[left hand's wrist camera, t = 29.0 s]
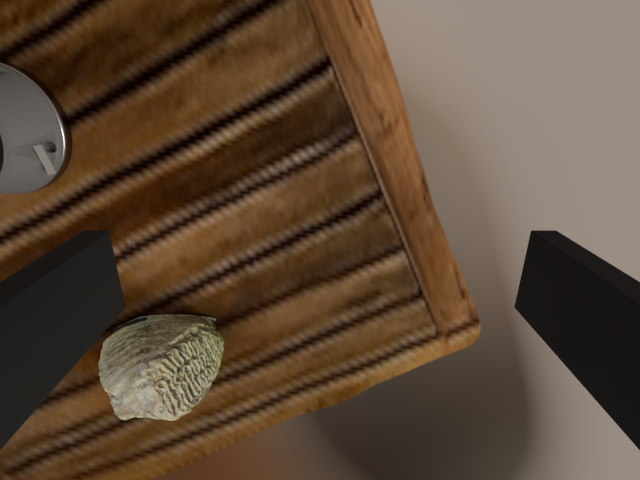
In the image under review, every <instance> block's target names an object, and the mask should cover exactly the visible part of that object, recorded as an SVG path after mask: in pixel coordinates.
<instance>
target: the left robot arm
mask: <svg viewBox="0 0 640 480" xmlns="http://www.w3.org/2000/svg"><path fill="white" fill-rule="evenodd" d="M71 151H72V137H71V131H70V127H69V123H68V120H67V118H66V115H65V113H64V111H63V109H62V107H61V106H60V104H59V102H58V101H57V99H56V98H55V97H54V95H53V94H52V93H51V92H50V91H49V89H48V88H47V87H46V86H45V85H44V84H43V83H41V82H40V81H39V80H38V79H37V78H35V77H34V76H33V75H31V74H30V73H28V72H27V71H25V70H23V69H21V68H19V67H17V66H15V65H12V64H9V63H6V62H2V61H0V193H4V194H20V193H28V192H32V191H35V190H38V189H41V188H43V187H46V186H48V185H50V184H52V183H53V182H54V181H56V180H57V179H58V178H59V177H60V176H61V175H62V174H63V172H64V171H65V169H66V167H67V165H68V163H69V160H70V156H71ZM124 308H125V303H124V299H123V294H122V289H121V285H120V280H119V276H118V271H117V266H116V262H115V257H114V253H113V248H112V243H111V239H110V234H109V231H83V232H81V233H79V234H78V235H76V236H75V237H73V238H71V239H70V240H68V241H66V242H65V243H63V244H62V245H60V246H58V247H57V248H55V249H54V250H52V251H50V252H49V253H47V254H45V255H44V256H42V257H41V258H39V259H37V260H36V261H34V262H32V263H31V264H29V265H28V266H26V267H24V268H23V269H21V270H19V271H18V272H16V273H15V274H13V275H11V276H10V277H8V278H6V279H5V280H3V281H2V282H0V450H1V449H2V447H3V446H4V445H5V444H6V443H7V442H8V441H9V439H10V438H11V437H12V436H13V435H14V434H15V433H16V431H17V430H18V429H19V428H20V427H21V426H22V425H23V423H24V422H25V421H26V420H27V419H28V418H29V417H30V416H31V414H32V413H33V412H34V411H35V410H36V409H37V408H38V406H39V405H40V404H41V403H42V402H43V401H44V400H45V398H46V397H47V396H48V395H49V394H50V393H51V392H52V390H53V389H54V388H55V387H56V386H57V385H58V384H59V382H60V381H61V380H62V379H63V378H64V377H65V376H66V374H67V373H68V372H69V371H70V370H71V369H72V368H73V366H74V365H75V364H76V363H77V362H78V361H79V360H80V359H81V357H82V356H83V355H84V354H85V353H86V352H87V351H88V349H89V348H90V347H91V346H92V345H93V344H94V343H95V341H96V340H97V339H98V338H99V337H100V336H101V335H102V333H103V332H104V331H105V330H106V329H107V328H108V327H109V325H110V324H111V323H112V322H113V321H114V320H115V319H116V317H117V316H118V315H119V314H120V313H121V312H122V311H123V309H124ZM515 308H516V309H517V311H518V312H519V313H520V314H521V315H522V316H523V317H524V319H525V320H526V321H527V322H528V323H529V324H530V325H531V327H532V328H533V329H534V330H535V331H536V332H537V333H538V335H539V336H540V337H541V338H542V339H543V340H544V341H545V343H546V344H547V345H548V346H549V347H550V348H551V349H552V351H553V352H554V353H555V354H556V355H557V356H558V357H559V359H560V360H561V361H562V362H563V363H564V364H565V365H566V366H567V368H568V369H569V370H570V371H571V372H572V373H573V374H574V376H575V377H576V378H577V379H578V380H579V381H580V382H581V384H582V385H583V386H584V387H585V388H586V389H587V390H588V392H589V393H590V394H591V395H592V396H593V397H594V398H595V400H596V401H597V402H598V403H599V404H600V405H601V406H602V407H603V409H604V410H605V411H606V412H607V413H608V414H609V415H610V417H611V418H612V419H613V420H614V421H615V422H616V423H617V425H618V426H619V427H620V428H621V429H622V430H623V431H624V433H625V434H626V435H627V436H628V437H629V438H630V439H631V441H632V442H633V443H634V444H635V445H636V446H637V447H638V449H639V450H640V282H638V281H637V280H635V279H634V278H632V277H630V276H629V275H627V274H625V273H624V272H622V271H621V270H619V269H617V268H616V267H614V266H612V265H611V264H609V263H608V262H606V261H604V260H603V259H601V258H599V257H598V256H596V255H595V254H593V253H591V252H590V251H588V250H586V249H585V248H583V247H582V246H580V245H578V244H577V243H575V242H573V241H572V240H570V239H569V238H567V237H565V236H564V235H562V234H560V233H559V232H557V231H531V234H530V239H529V243H528V248H527V253H526V257H525V262H524V266H523V271H522V276H521V280H520V285H519V289H518V294H517V299H516V303H515Z"/></svg>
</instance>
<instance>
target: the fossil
mask: <svg viewBox="0 0 640 480" xmlns="http://www.w3.org/2000/svg"><path fill="white" fill-rule="evenodd" d="M215 320H216V319H214V318H211V317H207V316H195V315H182V314H179V315H170V314H163V315H150V316H143V317H139V318H136V319H134V320H131V321H128V322H127V323H126V324H123V325H120V326H118V327H117V328H116V329H115V330H114V331H113V332H112V334H111V335H110V336H109V337H108V338H107V339H105V340H104V342H103V349H102V350H101V356H100V360H99V369H100V372H99V375H100V381H101V384H102V385H103V388H104V390H105V391H106V392H107V393H108V395H109V396H110V400H111V404H112V407H113V409H114V412H115V414H116V415H117V416H118V417H119V418H120V419H123V420H128V419H130V418H133V417H138V418H145V417H149V418H154V419H164V420H170V421H173V420H177V419H179V418H180V417H181V416H183V415H185V414H187V413H189V412H191V411H192V408H193V407H194V406H195V405H196V404H198V403H199V402H200V400H201V399H202V398H203V397H204V396H205V395H206V393H207V392H208V390H209V389H210V387H211V384H212V381H213V380H214V379H215V377H216V375H217V373H218V370H219V367H220V364H221V359H222V356H223V349H224V340H223V337H222V336H221V334H220V333H219V332H218V331H217V330H216V326H215Z"/></svg>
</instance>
